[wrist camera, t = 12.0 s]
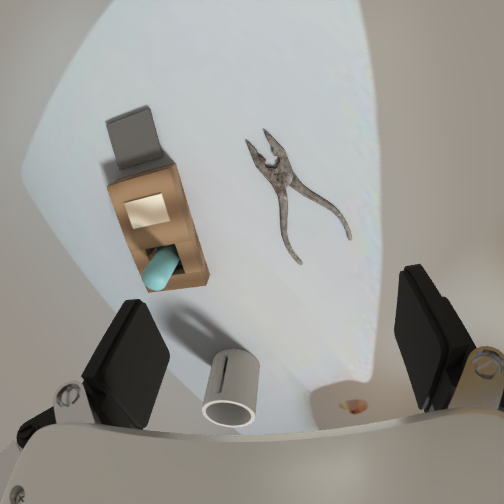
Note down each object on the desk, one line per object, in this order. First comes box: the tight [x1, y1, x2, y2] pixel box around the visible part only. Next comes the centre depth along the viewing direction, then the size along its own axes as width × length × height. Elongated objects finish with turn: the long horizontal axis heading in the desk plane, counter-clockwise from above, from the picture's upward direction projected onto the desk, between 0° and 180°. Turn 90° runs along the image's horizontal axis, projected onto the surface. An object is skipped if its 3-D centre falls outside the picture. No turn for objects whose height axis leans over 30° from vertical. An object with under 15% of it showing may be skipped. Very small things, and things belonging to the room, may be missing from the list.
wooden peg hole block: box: [107, 164, 210, 293], centre depth 44 cm, size 18×10×3 cm, turn 12°
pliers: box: [248, 132, 352, 265], centre depth 43 cm, size 10×1×20 cm
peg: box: [142, 244, 180, 291], centre depth 44 cm, size 4×4×8 cm
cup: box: [202, 349, 260, 427], centre depth 53 cm, size 9×9×12 cm
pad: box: [106, 109, 163, 170], centre depth 39 cm, size 7×7×1 cm
